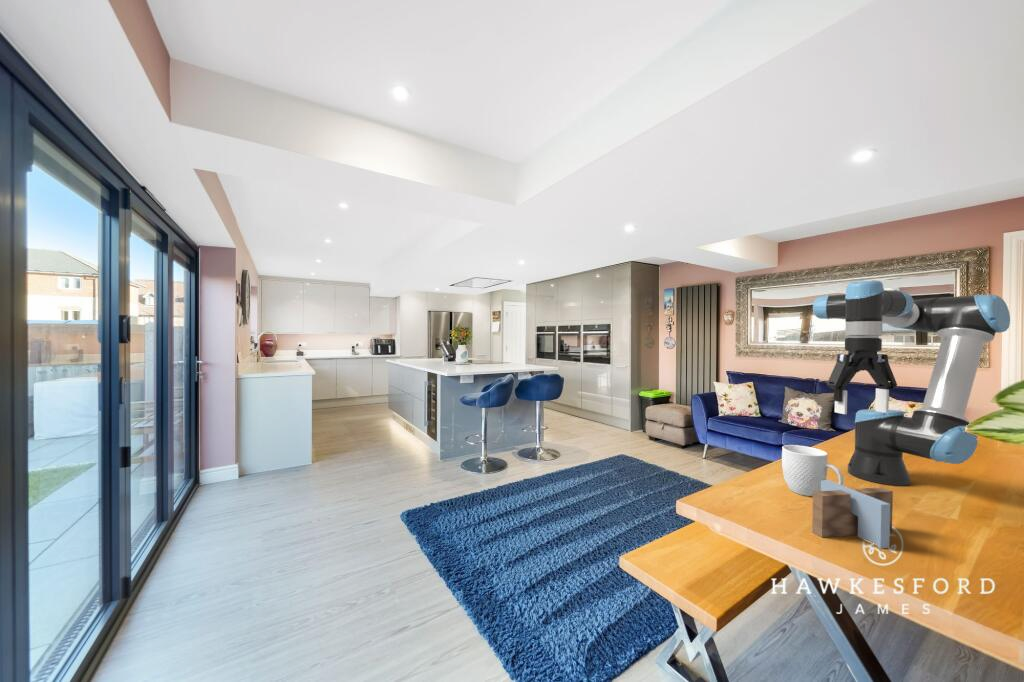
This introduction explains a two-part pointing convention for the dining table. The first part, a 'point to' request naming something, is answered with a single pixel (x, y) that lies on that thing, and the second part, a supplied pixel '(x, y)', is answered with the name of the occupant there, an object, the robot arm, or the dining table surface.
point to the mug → (806, 469)
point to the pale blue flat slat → (866, 514)
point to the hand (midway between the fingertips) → (861, 412)
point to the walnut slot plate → (841, 511)
